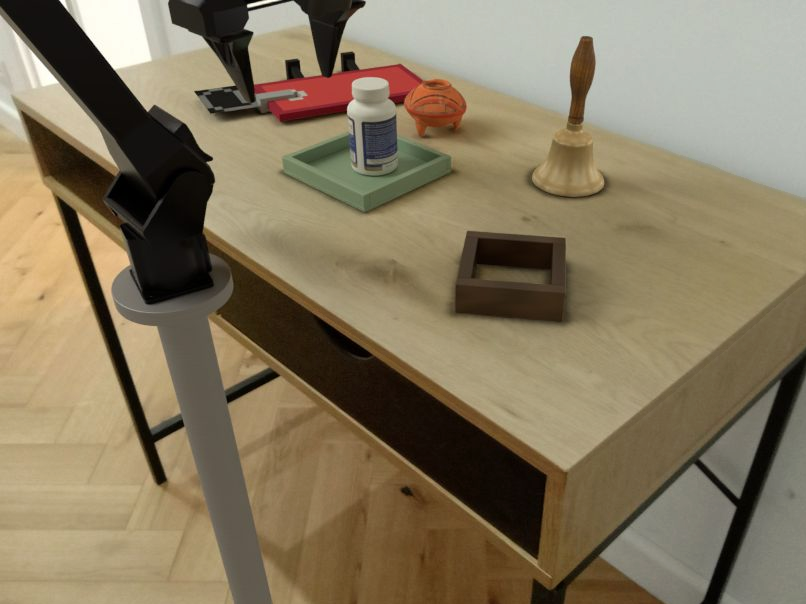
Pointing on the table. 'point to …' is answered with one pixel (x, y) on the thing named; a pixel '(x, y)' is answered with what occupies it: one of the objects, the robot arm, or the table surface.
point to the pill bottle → (372, 127)
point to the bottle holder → (507, 294)
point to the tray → (337, 178)
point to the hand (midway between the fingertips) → (289, 88)
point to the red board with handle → (310, 90)
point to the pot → (435, 105)
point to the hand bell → (573, 137)
